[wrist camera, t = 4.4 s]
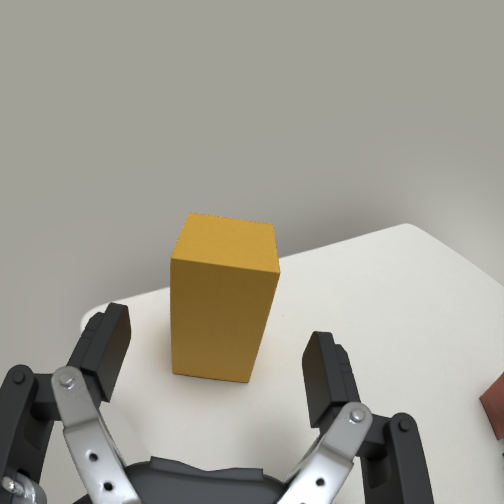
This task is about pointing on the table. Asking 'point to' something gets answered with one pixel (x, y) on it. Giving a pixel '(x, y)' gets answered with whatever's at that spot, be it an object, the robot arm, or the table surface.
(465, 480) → the table surface
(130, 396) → the table surface
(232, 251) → the block
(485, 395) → the three coloured blocks
